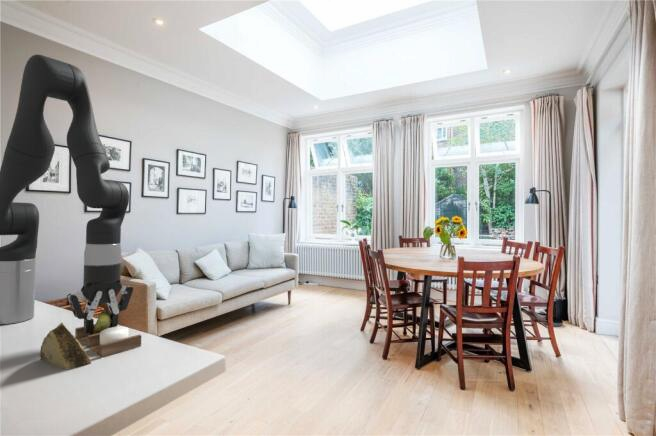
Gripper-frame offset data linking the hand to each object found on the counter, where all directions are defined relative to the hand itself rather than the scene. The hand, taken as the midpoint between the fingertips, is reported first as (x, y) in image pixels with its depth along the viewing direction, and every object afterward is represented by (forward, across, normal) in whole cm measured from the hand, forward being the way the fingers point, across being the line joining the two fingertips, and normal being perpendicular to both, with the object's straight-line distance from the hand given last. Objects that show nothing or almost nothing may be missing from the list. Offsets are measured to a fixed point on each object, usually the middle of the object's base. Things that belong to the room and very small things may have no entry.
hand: (100, 331), depth 82 cm
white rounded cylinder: (+2, 0, +8) cm, 8 cm away
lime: (0, 0, 0) cm, 0 cm away
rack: (+3, 0, +4) cm, 5 cm away
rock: (+3, +9, +8) cm, 13 cm away
